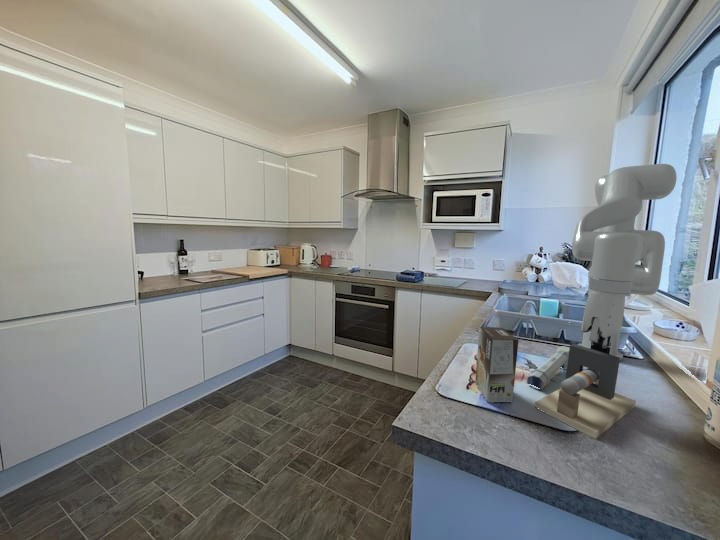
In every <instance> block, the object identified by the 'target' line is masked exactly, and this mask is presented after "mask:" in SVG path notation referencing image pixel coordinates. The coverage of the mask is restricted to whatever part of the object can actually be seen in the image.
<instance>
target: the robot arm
mask: <svg viewBox="0 0 720 540" xmlns="http://www.w3.org/2000/svg"><path fill="white" fill-rule="evenodd" d="M676 183H677V171H676V169H675V167H674V166H673V165H671V164H669V163H655V164H643V165H632V166H624V167H618V168H617V169H614V170H612V171H611V172H610V173H609V174H607V175H602V176H601V177H599V178H598V179H597V180H596V182H595V186H594V193H595V199H596V203H597V206H596V207H594V208H592V209H591V210H589V211H588V212H587V213H586V214H584V215H583V216H582V217H581V218H580V219H579V221H578V223H577V225H576V227H575V230H574V235H573V238H572V243H571V253H572V255H573V256H574V258H576V259H577V260H580V261H586V262H591V266H590V267H589V269H588V273H587V278H588V281H587V282H588V289H587V291H588V294H587V296H588V297H587V300H586V303H585V308H584V312H583V316H582V323H581V328H580V329H581V332H582V333H583V334H582V341H581V343H577V344H576V345H580V346H583V347H586V348H590V349H593V350H596V351H600V352H603V353H606V354H610V355H613V356H616V357H619V358H620V361H622V360H623V358H624V355H623V354H622V353H621V352H620V351H618V349H619V343H620V338H621V331H622V330H621V329H622V328H623V322H624V315H625V308H626V307H625V305H626V304H625V303H626V297H630V296H631V295H636V296H637V295H640V296H653V295H655V294H656V293H657V292H658V290H659V288H660V284H661V278H662V271H663V263H664V257H665V249H666V247H665V246H666V241H665V237H664V235H663V233H662V232H660V231H657V230H648V229H647V230H645V229H643V230H641V229H635V223H636V217H637V216H638V215H639V214H640V213H641V211H642V210H643V200H644V201H645V200H646V201H647V200H648V201H649V200H650V201H651V200H655V201H656V200H662V199H665V198H666V197H668V196H669V195H670V194H671V193H673V191H674V189H675V187H676ZM597 230H599V231H597ZM639 262H641V264H636V263H639Z"/></svg>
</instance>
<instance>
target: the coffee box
mask: <svg viewBox="0 0 720 540" xmlns="http://www.w3.org/2000/svg"><path fill="white" fill-rule="evenodd" d="M478 329H479V331H478V343H477V355H476V356H477V357H476V369H475V381H474V382H475V383H476V384H475V383H474V384H475V386H476V385H477V386H476V388H477V389H478V388H479V389H478V391H479V392H480V391H481V392H480V394H481V395H482V394H483V395H482V396H483V398H484V397H485V398H484V400H485V401H486V400H487V401H488V402H487V401H486V402H487V403H494V402H512V403H513V401H514V400H513V398H514V390H515V389H514V388H515V379H516V370H517V369H516V368H517V359H518V358H517V357H518V349H519V339H518V338H516V337H515V336H514V335H513V334H511V333H510V332H509V331H507V330H506V329H505V328H503V327H498V326H495V327H493V326H492V327H491V326H487V327H485V326H484V327H483V326H481V327H479V328H478Z"/></svg>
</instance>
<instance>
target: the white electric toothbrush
mask: <svg viewBox="0 0 720 540" xmlns="http://www.w3.org/2000/svg"><path fill="white" fill-rule="evenodd" d="M569 349H570V347H569V346H566V345H564V346H563V345H561V346H558V348H557V349H556V353H554V354H553V355H552V356H551V357H550V358H548V359H547V360H546V361H545V362H544V363H542V364H541V365H540V366H539V367H538V368H536V369H534V370H532V371H531V372H530V375H529V376H527V378H526V383H527V384H531V385H534V386H536V387H538V388H540V390H542V389H544V387H545V386H547V385H549V384H550V381H551V379H552V378H553V377H554V375H555V374H557V372H558V371H559V370H560V369H561V368H560V367H562V368H566V369H565V370H567V365H568V357H569Z"/></svg>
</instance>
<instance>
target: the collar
mask: <svg viewBox="0 0 720 540" xmlns="http://www.w3.org/2000/svg"><path fill="white" fill-rule="evenodd" d="M569 348H570V349H569V357H568V365H567V369H566V372H565V374H566V375H565V380H566V379H568V378H570V377H572V376H574V375H575V374H576V373H578V372H581V371H583V370H584V367H585V368H586V369H587V368H590V369H593V370H596V371H599V372H600V376H599V383H598V385H597V384H595V382H594V383H592V384H591V385H590V386H588V387H586V388H584V390H587V391H589V392H592V393H594V394H597V395H599V396H601V397H604V398H606V399H609V400H611V399H613V398H614V393H616V387H617V380H618V373H619V367H620V361H621V360H620V358H619V357H616V356H613V355H610V354H606V353H603V352H600V351H596V350H593V349H590V348H586V347H583V346H580V345H577V344H576V343H572V344H570V345H569Z"/></svg>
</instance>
